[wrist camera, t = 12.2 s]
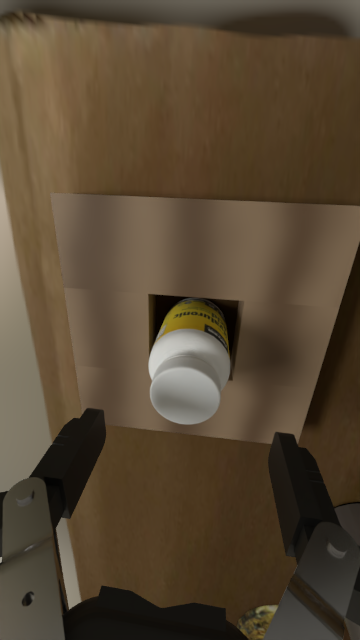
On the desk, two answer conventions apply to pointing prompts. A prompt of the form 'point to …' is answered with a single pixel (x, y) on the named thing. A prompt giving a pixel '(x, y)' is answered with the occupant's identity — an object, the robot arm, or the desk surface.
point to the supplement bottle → (190, 362)
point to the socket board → (204, 282)
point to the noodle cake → (256, 622)
